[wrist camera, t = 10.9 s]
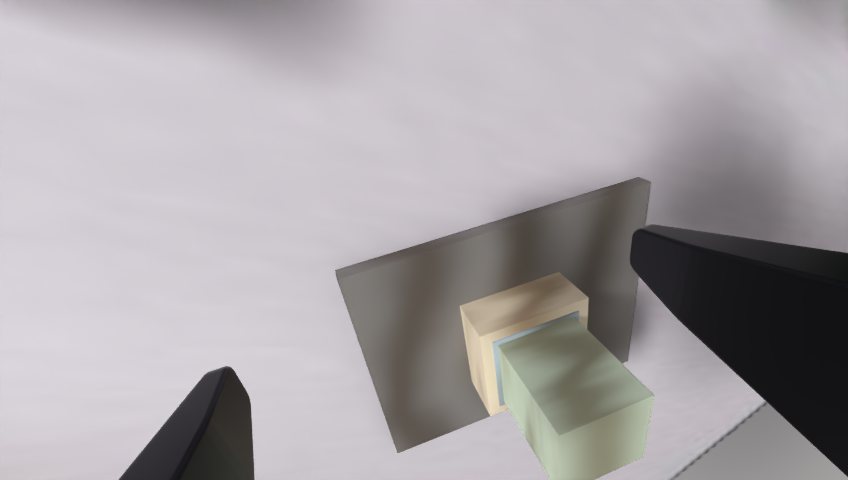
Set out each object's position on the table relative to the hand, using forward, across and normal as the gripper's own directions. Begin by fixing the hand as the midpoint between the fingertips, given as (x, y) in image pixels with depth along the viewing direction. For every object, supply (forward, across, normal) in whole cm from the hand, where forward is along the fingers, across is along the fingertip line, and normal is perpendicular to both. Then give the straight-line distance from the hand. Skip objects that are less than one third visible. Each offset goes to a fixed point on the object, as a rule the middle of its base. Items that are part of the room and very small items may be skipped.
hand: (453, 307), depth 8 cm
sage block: (+9, -7, +14) cm, 18 cm away
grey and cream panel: (+13, -7, +14) cm, 20 cm away
